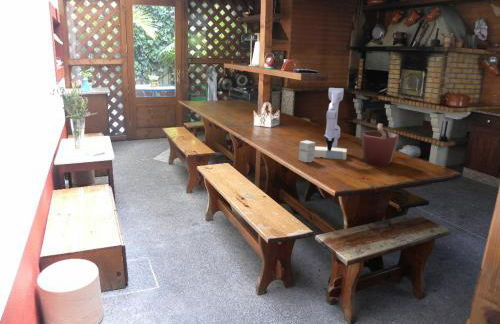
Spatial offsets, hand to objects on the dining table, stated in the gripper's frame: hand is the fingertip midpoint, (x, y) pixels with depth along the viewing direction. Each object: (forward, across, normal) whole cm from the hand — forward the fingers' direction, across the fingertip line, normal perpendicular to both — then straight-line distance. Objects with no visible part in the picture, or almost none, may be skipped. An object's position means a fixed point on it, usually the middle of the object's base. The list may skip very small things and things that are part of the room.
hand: (329, 149), depth 269 cm
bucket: (+7, 0, +30) cm, 31 cm away
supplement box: (+7, +10, -14) cm, 18 cm away
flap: (+6, 0, +4) cm, 7 cm away
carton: (+6, -6, -1) cm, 9 cm away
